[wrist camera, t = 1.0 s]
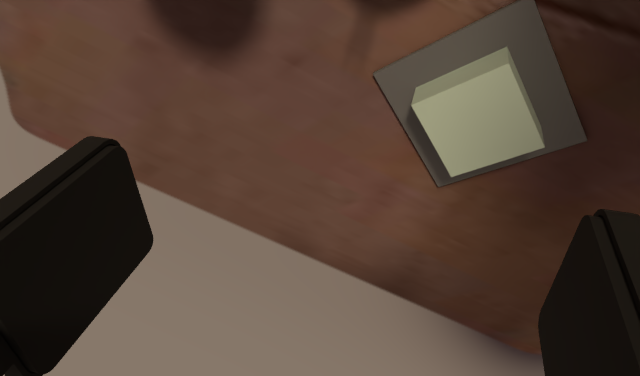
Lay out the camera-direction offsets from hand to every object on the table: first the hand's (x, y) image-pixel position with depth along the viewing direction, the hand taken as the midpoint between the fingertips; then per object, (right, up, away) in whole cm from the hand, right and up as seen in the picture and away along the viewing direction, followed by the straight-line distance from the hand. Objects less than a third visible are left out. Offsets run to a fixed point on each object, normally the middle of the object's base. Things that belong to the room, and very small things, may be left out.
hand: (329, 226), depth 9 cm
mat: (+12, +7, +25) cm, 29 cm away
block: (+12, +7, +25) cm, 29 cm away
